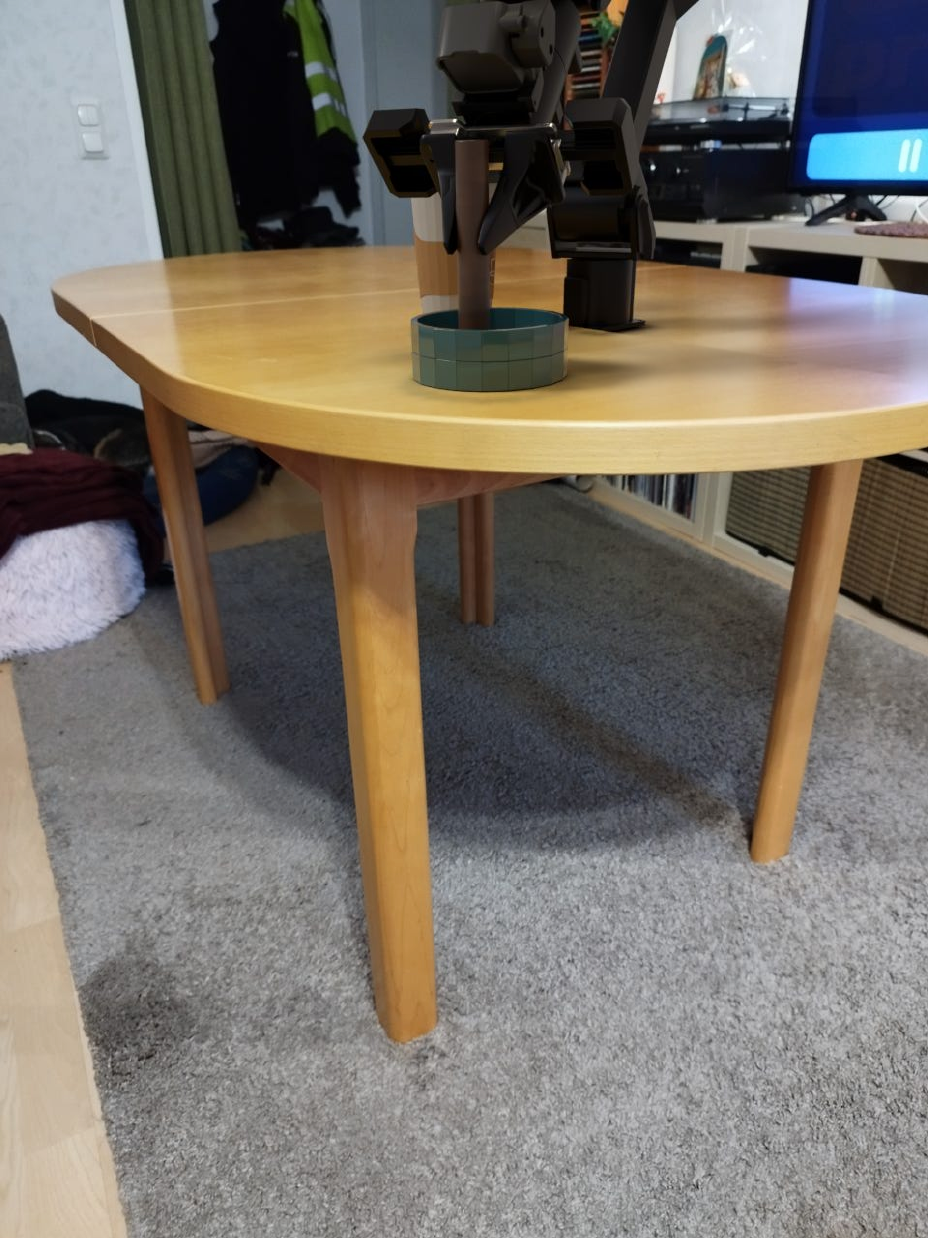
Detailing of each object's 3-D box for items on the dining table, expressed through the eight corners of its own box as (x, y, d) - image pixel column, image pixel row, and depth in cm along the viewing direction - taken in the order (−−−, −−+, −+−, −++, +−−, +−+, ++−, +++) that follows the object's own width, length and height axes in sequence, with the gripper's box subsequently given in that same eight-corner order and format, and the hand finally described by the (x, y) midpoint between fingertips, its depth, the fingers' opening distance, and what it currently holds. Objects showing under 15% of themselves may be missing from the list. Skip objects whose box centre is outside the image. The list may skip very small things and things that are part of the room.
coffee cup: (493, 339, 81) (492, 153, 74) (404, 338, 82) (395, 155, 75) (507, 325, 88) (507, 154, 81) (425, 324, 89) (419, 156, 83)
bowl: (497, 362, 71) (497, 303, 69) (597, 383, 64) (601, 317, 62) (383, 382, 65) (380, 318, 63) (479, 408, 58) (478, 336, 56)
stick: (478, 360, 67) (476, 141, 60) (518, 368, 64) (520, 138, 57) (432, 368, 64) (424, 141, 58) (470, 377, 61) (466, 138, 55)
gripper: (366, -28, 60) (289, 157, 56) (640, -61, 53) (574, 148, 49) (424, 112, 70) (362, 278, 66) (661, 100, 62) (607, 285, 59)
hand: (464, 250), depth 59 cm, fingers closed on stick, 2 cm apart
